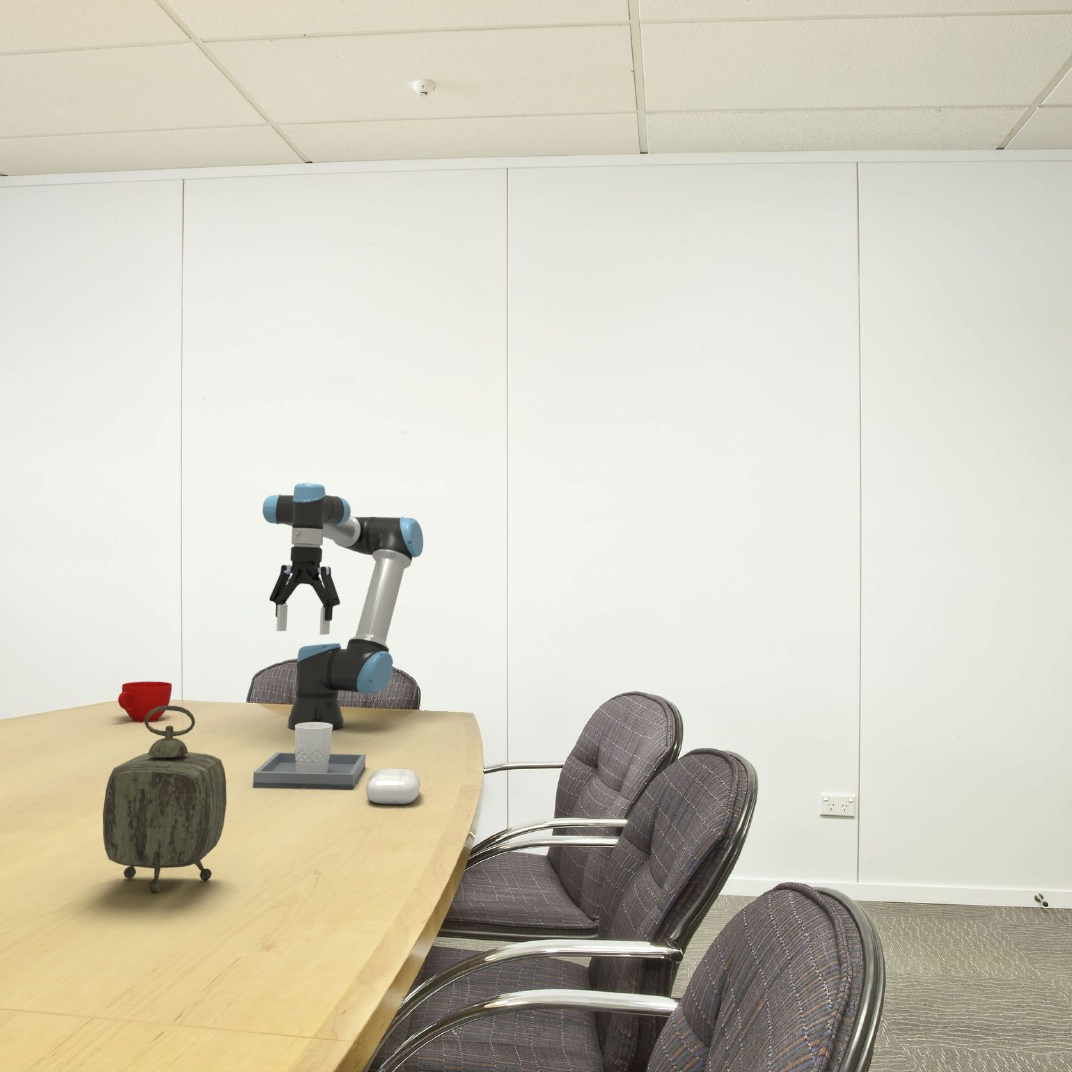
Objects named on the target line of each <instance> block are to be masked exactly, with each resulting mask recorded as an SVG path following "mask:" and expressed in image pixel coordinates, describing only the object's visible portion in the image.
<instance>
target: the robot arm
mask: <svg viewBox="0 0 1072 1072" xmlns="http://www.w3.org/2000/svg"><path fill="white" fill-rule="evenodd" d="M293 488H294V490H293V495H289V494H288V495H287V494H276V495H275V494H273V495H269V496H267V497H266V498H265V499H264V501H263V504H262V515H263V518H264V519H265V521H266V522H267V523H269V524H276V525H281V524H282V525H287V526H290V527H291V541H290V542H291V543H290V544H291V545H293V546H291V548H290V561H291V565H290V564H282V565H281V566H280V572H279V576H278V578H277V580H276V582H275V584H274V586H273V589H272V592H271V593H270V596H269V601H270V602H273V603H274V604H275V618H276V632H285V631H287V624H288V623H287V621H288V604H287V601H288V600H289V598H290V597H291V595H292V594H293V593H294V592H295V590H296V589H297V587H298V586H299V585H300V586H301V585H302V584H303V585H309V586H311V587H312V589H313V590H314V592H315V594H316V595H317V597H318V599H319V600H320V602H321V604H322V607H320V618H319V619H320V620H319V635H322V636H324V635H330V633H331V632H330V630H331V629H330V628H331V627H330V626H331V621H332V620H333V614H334V613H333V609H334V607H336V606H339V605H340V604H341V600H340V597H339V595H338V591H337V588H336V586H335V582H334V580H333V578H332V577H333V576H332V568H331V566H321V565H320V563H322V560H323V548H322V547H321V546H323V545H324V538H326V539H329V540H331V541H333V542H334V544H336V545H337V546H339V547H341V548H345V549H347V550H350V551H352V552H356V553H358V554H362V555H367V556H371V557H372V558H373V559H374V561H375V563H374V565H373V566H374V567H373V570H372V575H371V579H370V582H369V585H368V588H367V593H366V597H365V598H364V599H365V600H364V604H363V607H362V612H361V615H360V619H359V622H358V625H357V629H356V633H355V636H353V637H351V638H350V639H348V642H347V646H346V648H342V646H341V643H339V642H338V643H337V642H334V643H322V644H311V645H304V646H302V647H300V648H299V649H298V653H297V658H296V659H297V660H296V681H295V684H296V687H295V699H294V702H293V705H292V708H291V711H290V715H289V716H288V719H287V727H288V728H290V729H292V730H295V725H296V724H300V723H308V722H321V723H329V724H332V725H333V729H332V731H333V730H334V731H335V730H338V729H340V728H341V729H342V728H343V727H344V716H343V714H342V709H341V705H340V701H339V692H350V693H358V694H359V693H360V694H361V695H365V694H377V693H380V692H382V691H383V690H384V689H385V688H386V687H387V685H388V684H389V682H390V680H391V678H392V675H393V672H394V671H393V669H394V666H393V665H394V661H393V660H394V659H393V656H392V655H391V653H390V652H389V651H390V648H389V647H388V645H387V643H386V642H387V638H388V635H389V631H390V626H391V622H392V620H393V619H392V618H393V615H394V612H395V606H396V603H397V600H398V599H397V598H398V595H399V592H400V587H401V584H402V579H403V576H404V573H405V569H407V568H409V567H410V566H411V564H412V562H413V558H417V557H420V556H421V555H422V553H423V549H424V535H423V531H422V527H421V524H420V523H419V522H418V520H416V519H415V518H413V517H404V516H400V517H393V516H391V517H388V516H387V517H386V516H353V515H351V511H352V509H351V506H350V504H349V502H348V501H347V500H346V499H344V498H342V497H339V496H337V495H335V496H334V495H327V494H326V487H325V486H324V485H322V484H319V483H309V482H305V483H301V482H300V483H298V484H296V485H294V487H293Z"/></svg>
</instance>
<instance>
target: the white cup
mask: <svg viewBox="0 0 1072 1072" xmlns="http://www.w3.org/2000/svg"><path fill="white" fill-rule="evenodd" d="M332 729H333V725H332V724H329V723H321V722H308V723H300V724H296V725H295V729H294V749H295V750H294V753H295V760H296V772H306V773H327V772H328V763H329V761H328V760H329V759H330V754H331V750H332V740H333V739H332V738H333V730H332Z"/></svg>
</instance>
